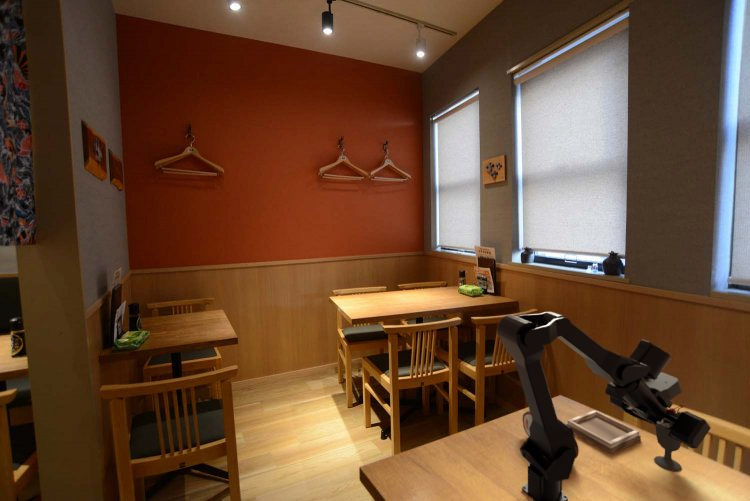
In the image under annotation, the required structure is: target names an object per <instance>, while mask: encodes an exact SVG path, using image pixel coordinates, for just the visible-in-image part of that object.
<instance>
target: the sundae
mask: <svg viewBox="0 0 750 501" xmlns="http://www.w3.org/2000/svg"><path fill="white" fill-rule="evenodd" d="M682 408H684V406H683V405H681V404H679V405H678V406H677V407H674V408H672V407H670V408H668V410H670V411H673V412H675V413H678V412H680V409H682ZM676 409H677V410H676ZM676 418H677V417H676ZM654 426H655V433H656V439H657V443H658V444H659V445H660V447H661V448H663V449H664V455H663V456H661V455H657V456H655V457H654V458H653V461H654V463H656V464H657V465H658V466H659V467H660V468H662V469H665V470H668V471H671V472H679V471H681V470H682V469H683V468H682V465H681V464H680V463H679V462H677V460H674V459H673V456H672V454H673V453H672V452H676V451H678V450H680V448H681V445H682V443H681V442H679V441H677V440H675V439H673V438H672V437H670V436H668V434H669V433H670V428H671V427H672V426H671V423H670V422H668V421H666V420H664V419H662V421H661V422H657V423H656V424H655V425H654Z"/></svg>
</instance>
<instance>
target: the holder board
mask: <svg viewBox="0 0 750 501" xmlns="http://www.w3.org/2000/svg"><path fill="white" fill-rule="evenodd" d="M599 412H600V413H599ZM601 413H602V414H601ZM604 414H605V413H603V412H601V411H599V410H597V409H594V410H591V411H589V412H586V413H583V414H580V415H578V416H575V417H573V418H570V419H568V420H567V423H565V424H566V425H567V426H569V427H570V428H571V429H572V431H573V433H574V435H577V436H579V437H581V438H582V439H584V440H586V441H588V442H589V443H591V444H593V445H594V446H596V447H598V448H600V449H602V450H603V451H605V452H606V453H608V454H610V455H612V454H614V453H616V452H618V451H620V450H623V449H624V448H627V447H629V446H631V445H633V444H636V443H638V442H640V441H641V437H642V436H641V435H640V431H639V430H638V429H635V428H633V427H632V426H630V425H628V424H625V423H623V422H621V421H620V420H617V419H616V418H613V417H611V416H609V415H607V414H605V415H604Z"/></svg>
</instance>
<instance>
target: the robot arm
mask: <svg viewBox="0 0 750 501" xmlns="http://www.w3.org/2000/svg"><path fill="white" fill-rule="evenodd" d="M496 333H497V335H498V338H499V339H500V341H501V343H502V346H503V348H504V349H505V350H506V351H507V353H508V354H509V355H510V357H511V358H512V359H513V362H514V364H515V367H516V370H517V373H518V376H519V380H520V384H521V387H522V389H523V393H524V397H525V399H526V402H527V405H528V411H530V413H531V416H532V422H531V425H530V427H529V431H530V436H529V437H527V438H526V440H525V441H524V442H523V444H522V445H521V446H520V448H519V451H520V454H521V456H522V457H523V458H524V459H525V460H526V461H527V462H528V463H529V466H527V484H525V485H522V486H521V490H522V491H523V493H525V494H526V495H527V496H528V497H530V498H531V499H532V500H533V501H569V496H568V495H566V494H565V493H563V492H562V491H563V481H565V480H569V479H570V476H571V473H572V470H573V466H574V464H575V460H576V459H575V457H576V448H575V447H578V448H579V444H578V443H577V444H578V445H577V444H576V442H577V441H576V442H575V440H574V437H575V433H573V431H572V429H571V428H570V427H569V426H567V425H566V424H567V423H565V422H563V421H562V420H561V419H559V418H558V416H557V412H556V409H555V405H554V402H553V399H552V395H551V392H550V388H549V386H548V382H547V378H546V374H545V371H544V369H543V364H542V360H541V357H542V356H543V354H544V353H543V352H544V351H545V346H547V345H549V344H550V345H551V343H553V342H554V341H555V340H556V339H558V340H560V341H561V342H563V343H564V344H565V345H566V346H568V347H569V348H570V349H571V350H573V351H574V352H575V353H577V354H578V355H580V356H581V357H582V358H583V359H584V361H585V362H584V363H585V364H586V365H587V366H588V368H589V369H590V370H591V371H592V373H594V374H595V375H597V376H600V377H601V378H604V379H606V380H608V381H609V383H607V385H606V388H605V390H604V393H605V394H606V395H607V396H609V402H610V404H612V405H613V406H614V407H616V408H617V409H619V410H621V411H623V412H624V413H626V414H628V415H630V416H632V417H634V418H636V419H639V420H641V421H644V422H646V423H650V424H652V425H654V426H655V424H656V423H657V422H661V421H662V419H664V420H666V421H668V422H670V423H671V426H672V427H671V428H670V433H669V434H668V436H670V437H672V438H673V439H675V440H677V441H679V442H681V444H683V445H685V446H687V447H689V448H691V449H692V450H694V449H698V447H699V446H700V445H701V444H702V442H703V440H704V439H705V437H706V436H707V435H708V433H709V431H710V430H711V428H712V427H711V425H710V424H709V422H708V421H707V420H706V419H704V418H702V417H700V416H698V415H696V414H694V413H691V412H689V411H688V410H686V411H681V412H680V411H678V413H677V412H676V413H675V412H673V411H670V410H669V409H670V408H672V406H673V402H672V401H671V400H673V399H675V397H677V396H678V395H680V394H682V393H683V389H682V386H681V384H680V381H679V379H678V378H677V377H675V376H672V375H670V374H667V373H665V372H662V371H663V370H664V369H665V367H666V366H667V364H669V362H670V360H671V359H672V356H671V355H670V353H669V352H666V350H665V351H664V350H663V349H662V348H660V347H658V346H656V345H655V344H653V343H652V342H651V341H648V340H645V339H641V340H640V341H639V342H638V343H637V346H636V348H635V349H634V351H633V352H632V353H631V355H629V356H625V355H621V354H619V353H615V352H614V351H611V350H609V349H607V348H604V347H603V346H602V345H601V344H600V343H598V342H597V341H596V340H594V339H593V338H592V337H590V336H589V335H588V334H587V333H586V332H585V331H583V330H582V329H581V328H579V327H578V326H577V325H575V324H574V323H573V322H572V321H571V320H570V319H569V318H568V317H567V316H566V315H563V314H560V313H557V312H554V311H544V312H540V313H531V314H529V313H527V314H518V315H515V314H508V315H505V316H504V317H502V319H501V320H500V321H499V323H498V325H496ZM676 417H677V418H676Z"/></svg>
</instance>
